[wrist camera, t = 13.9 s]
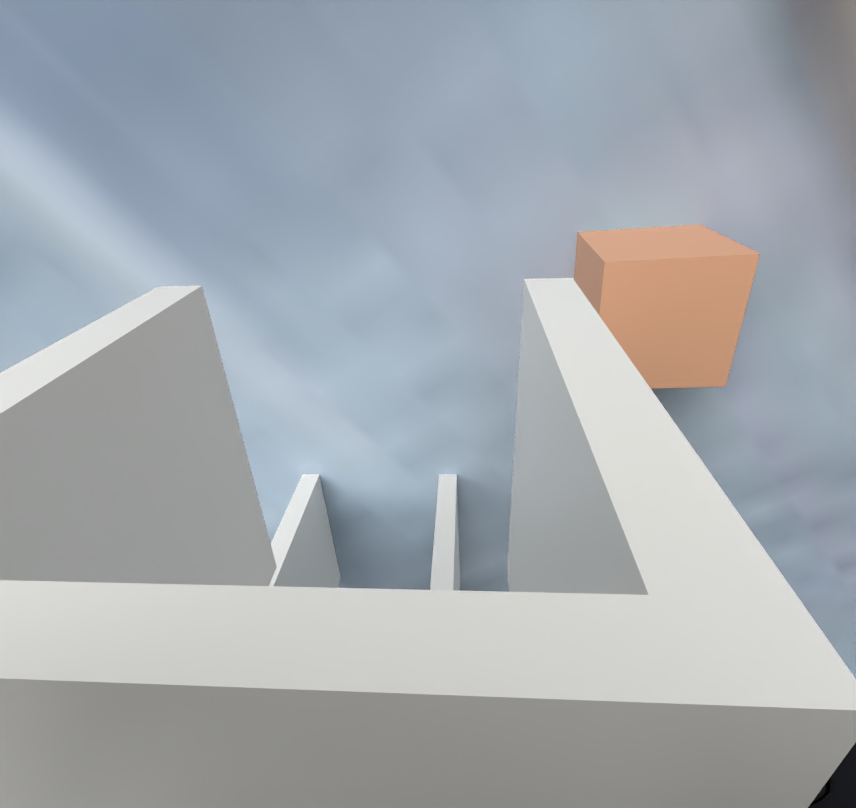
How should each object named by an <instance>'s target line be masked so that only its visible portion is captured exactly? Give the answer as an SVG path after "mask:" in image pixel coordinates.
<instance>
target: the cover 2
mask: <svg viewBox="0 0 856 808" xmlns="http://www.w3.org/2000/svg"><path fill="white" fill-rule="evenodd" d="M276 568H277V566H276V562H275V558H274V554H273V551H272V547H271V543H270V539H269V536H268V532H267V528H266V524H265V521H264V517H263V513H262V509H261V506H260V502H259V498H258V494H257V491H256V487H255V483H254V479H253V476H252V472H251V468H250V464H249V461H248V457H247V453H246V449H245V446H244V442H243V438H242V434H241V431H240V427H239V423H238V419H237V416H236V412H235V408H234V404H233V401H232V397H231V393H230V389H229V386H228V382H227V378H226V374H225V371H224V367H223V363H222V359H221V355H220V352H219V348H218V344H217V340H216V337H215V333H214V329H213V325H212V322H211V318H210V314H209V310H208V307H207V303H206V299H205V295H204V292H203V288H202V286H160V287H156V288H155V289H153V290H151V291H149V292H147V293H145V294H144V295H142V296H140V297H138V298H136V299H134V300H133V301H131V302H129V303H127V304H125V305H123V306H122V307H120V308H118V309H116V310H114V311H113V312H111V313H109V314H107V315H105V316H103V317H102V318H100V319H98V320H96V321H94V322H92V323H91V324H89V325H87V326H85V327H83V328H81V329H80V330H78V331H76V332H74V333H72V334H70V335H69V336H67V337H65V338H63V339H61V340H59V341H58V342H56V343H54V344H52V345H50V346H48V347H47V348H45V349H43V350H41V351H39V352H37V353H36V354H34V355H32V356H30V357H28V358H26V359H25V360H23V361H21V362H19V363H17V364H15V365H14V366H12V367H10V368H8V369H6V370H5V371H3V372H1V373H0V808H808V807H809V806H810V804H811V803H812V801H813V800H814V799H815V797H816V796H817V795H818V793H819V792H820V790H821V789H822V788H823V786H824V785H825V784H826V782H827V781H828V780H829V778H830V777H831V775H832V774H833V773H834V771H835V770H836V769H837V767H838V766H839V764H840V763H841V762H842V760H843V759H844V758H845V756H846V755H847V754H848V752H849V751H850V749H851V748H852V747H853V745H854V744H855V743H856V679H855V677H854V676H853V674H852V673H851V672H850V670H849V669H848V667H847V666H846V665H845V663H844V662H843V660H842V659H841V657H840V656H839V655H838V653H837V652H836V650H835V649H834V648H833V646H832V645H831V643H830V642H829V640H828V639H827V638H826V636H825V635H824V633H823V632H822V631H821V629H820V628H819V626H818V625H817V623H816V622H815V621H814V619H813V618H812V616H811V615H810V614H809V612H808V611H807V609H806V608H805V606H804V605H803V604H802V602H801V601H800V599H799V598H798V597H797V595H796V594H795V592H794V591H793V589H792V588H791V587H790V585H789V584H788V582H787V581H786V580H785V578H784V577H783V575H782V574H781V572H780V571H779V570H778V568H777V567H776V565H775V564H774V563H773V561H772V560H771V558H770V557H769V555H768V554H767V553H766V551H765V550H764V548H763V547H762V546H761V544H760V543H759V541H758V540H757V538H756V537H755V536H754V534H753V533H752V531H751V530H750V529H749V527H748V526H747V524H746V523H745V521H744V520H743V519H742V517H741V516H740V514H739V513H738V512H737V510H736V509H735V507H734V506H733V504H732V503H731V502H730V500H729V499H728V497H727V496H726V495H725V493H724V492H723V490H722V489H721V487H720V486H719V485H718V483H717V482H716V480H715V479H714V478H713V476H712V475H711V473H710V472H709V470H708V469H707V468H706V466H705V465H704V463H703V462H702V461H701V459H700V458H699V456H698V455H697V453H696V452H695V451H694V449H693V448H692V446H691V445H690V444H689V442H688V441H687V439H686V438H685V436H684V435H683V434H682V432H681V431H680V429H679V428H678V427H677V425H676V424H675V422H674V421H673V419H672V418H671V417H670V415H669V414H668V412H667V411H666V410H665V408H664V407H663V405H662V404H661V402H660V401H659V400H658V398H657V397H656V395H655V394H654V393H653V391H652V390H651V388H650V387H649V385H648V384H647V383H646V381H645V380H644V378H643V377H642V376H641V374H640V373H639V371H638V370H637V368H636V367H635V366H634V364H633V363H632V361H631V360H630V359H629V357H628V356H627V354H626V353H625V351H624V350H623V349H622V347H621V346H620V344H619V343H618V342H617V340H616V339H615V337H614V336H613V334H612V333H611V332H610V330H609V329H608V327H607V326H606V325H605V323H604V322H603V320H602V319H601V317H600V316H599V315H598V313H597V312H596V310H595V309H594V308H593V306H592V305H591V303H590V302H589V300H588V299H587V298H586V296H585V295H584V293H583V292H582V291H581V289H580V288H579V286H578V285H577V283H576V282H575V281H574V279H573V278H542V279H524V288H523V305H522V322H521V339H520V356H519V374H518V391H517V408H516V425H515V442H514V459H513V476H512V493H511V510H510V528H509V545H508V562H507V577H508V587H509V592H500V591H455V590H411V589H367V588H323V587H278V586H269V585H270V582H271V580H272V577H273V575H274V573H275V570H276Z"/></svg>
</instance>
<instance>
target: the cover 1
mask: <svg viewBox="0 0 856 808" xmlns="http://www.w3.org/2000/svg"><path fill="white" fill-rule="evenodd" d="M271 547H272V551H273V554H274V558H275V562H276V566H277V568H276V570H275V573H274V575H273V577H272V580H271V582H270V585H269V586H278V587H323V588H338V586H339V582H340V578H341V577H340V572H339V567H338V562H337V557H336V553H335V548H334V543H333V538H332V533H331V529H330V524H329V519H328V514H327V509H326V505H325V500H324V495H323V490H322V486H321V481H320V476H319V475H302V477H301V479H300V481H299V483H298V485H297V488H296V490H295V492H294V494H293V496H292V499H291V501H290V503H289V505H288V507H287V509H286V512H285V514H284V516H283V518H282V520H281V523H280V525H279V527H278V529H277V531H276V534H275V536H274V538H273V540H272V542H271ZM430 590H455V591H460V561H459V530H458V499H457V475H439V483H438V495H437V508H436V520H435V533H434V546H433V558H432V571H431V584H430Z"/></svg>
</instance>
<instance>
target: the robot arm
mask: <svg viewBox="0 0 856 808" xmlns="http://www.w3.org/2000/svg"><path fill="white" fill-rule="evenodd" d="M808 808H856V743H855V744H854V745H853V747H852V748H851V749H850V751H849V752H848V754H847V755H846V756H845V758H844V759H843V760H842V762H841V763H840V764H839V766H838V767H837V769H836V770H835V771H834V773H833V774H832V775H831V777H830V778H829V780H828V781H827V782H826V784H825V785H824V786H823V788H822V789H821V790H820V792H819V793H818V795H817V796H816V797H815V799H814V800H813V801H812V803H811V804H810V806H809V807H808Z"/></svg>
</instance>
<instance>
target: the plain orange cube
mask: <svg viewBox="0 0 856 808" xmlns="http://www.w3.org/2000/svg"><path fill="white" fill-rule="evenodd" d="M759 256H760V254H759V253H757V252H755V251H753V250H751V249H749V248H747V247H745V246H743V245H741V244H739V243H737V242H735V241H733V240H731V239H729V238H727V237H725V236H723V235H721V234H719V233H717V232H715V231H713V230H711V229H709V228H707V227H705V226H702V225H685V226H669V227H652V228H635V229H619V230H602V231H586V232H578V234H577V247H576V261H575V274H574V281H575V282H576V283H577V285H578V286H579V288H580V289H581V291H582V292H583V293H584V295H585V296H586V298H587V299H588V300H589V302H590V303H591V305H592V306H593V308H594V309H595V310H596V312H597V313H598V315H599V316H600V317H601V319H602V320H603V322H604V323H605V325H606V326H607V327H608V329H609V330H610V332H611V333H612V334H613V336H614V337H615V339H616V340H617V342H618V343H619V344H620V346H621V347H622V349H623V350H624V351H625V353H626V354H627V356H628V357H629V359H630V360H631V361H632V363H633V364H634V366H635V367H636V368H637V370H638V371H639V373H640V374H641V376H642V377H643V378H644V380H645V381H646V383H647V384H648V385H649V387H650V388H651V389H654V388H688V387H723V386H726V383H727V379H728V375H729V371H730V367H731V364H732V360H733V356H734V352H735V348H736V344H737V341H738V337H739V333H740V329H741V325H742V321H743V318H744V314H745V310H746V306H747V302H748V298H749V295H750V291H751V287H752V283H753V279H754V275H755V272H756V268H757V264H758V260H759Z"/></svg>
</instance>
